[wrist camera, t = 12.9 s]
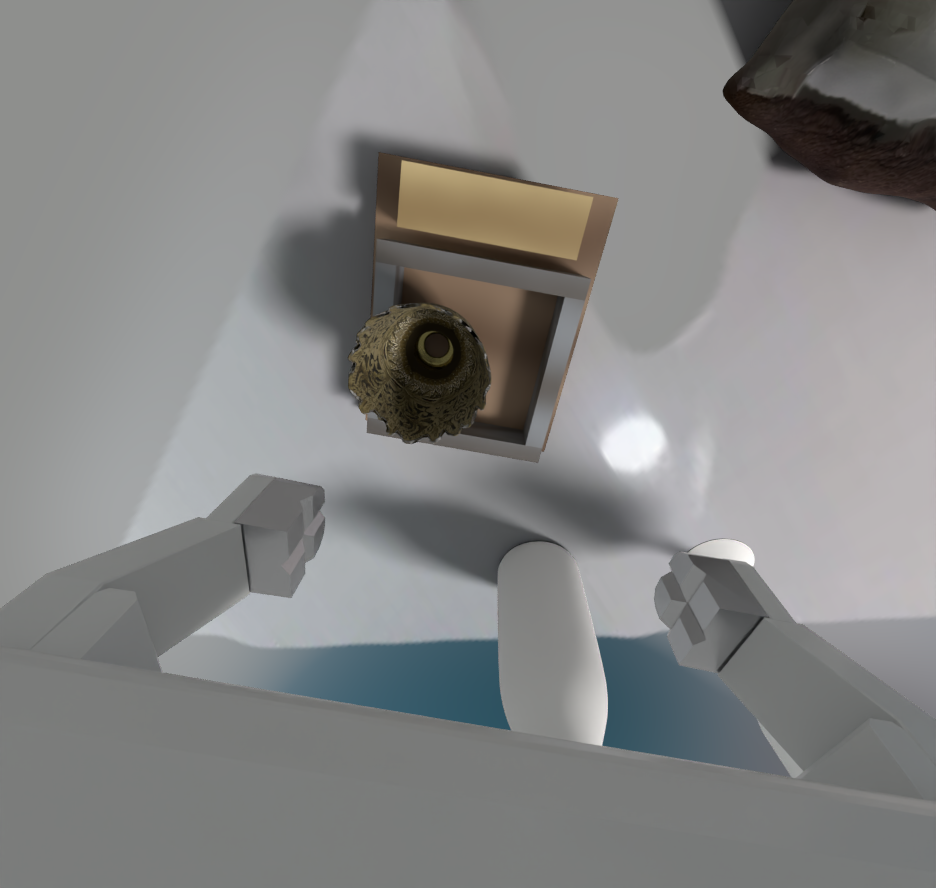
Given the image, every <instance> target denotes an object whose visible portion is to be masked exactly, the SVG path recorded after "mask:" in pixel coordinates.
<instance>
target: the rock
mask: <svg viewBox="0 0 936 888" xmlns="http://www.w3.org/2000/svg"><path fill="white" fill-rule="evenodd" d="M723 95H724V97H725V99H726V100H727V101H728V103H729V104H730V105H731V106H732V107H733V108H734V109H735V110H736V111H737V113H738V114H739V115H740V116H742V117H743V118H744V119H745V120H747V121H748V122H750V123H751V124H753V125H755V126H756V127H758V128H760V129H761V130H763V131H764V132H766V133H767V134H768V135H769V136H771V137H772V139H773V140H774V141H775V142H776V143H777V144H778V145H779V146H780V148H782V149H783V150H784V151H785V152H786V153H787V154H788V155H790V156H791V157H793V158H794V159H796V160H797V161H799V162H800V163H801V164H802V165H804V166H805V167H806V168H808V169H809V170H810V171H811V172H812V173H814V174H815V175H817V176H818V177H819V178H821V179H822V180H824V181H826V182H827V183H829V184H832V185H835V186H839V187H843V188H847V189H851V190H855V191H859V192H864V193H872V194H883V195H892V196H901V197H905V198H909V199H912V200H915V201H918V202H921V203H924V204H926V205H928V206H930V207H931V208H933V209H934V210H936V0H793V2H792V3H791V4H790V5H789V7H788V8H787V9H786V11H785V12H784V13H783V14H782V16H781V17H780V19H779V20H778V22H777V23H776V24H775V26H774V27H773V29H772V30H771V32H770V33H769V35H768V36H767V37H766V39H765V40H764V42H763V43H762V44H761V46H760V47H759V48H758V50H757V51H756V53H755V54H754V55H753V57H752V58H751V59H750V60H749V61H748V62H747V63H746V64H745V65H744V66H743V67H742V68H741V69H740V70H739V71H737V72H736V73H735V74H734V75H733V76H732V77H731V78H730V79H729V80H728V81H727V83H726V85H725V86H724V89H723Z"/></svg>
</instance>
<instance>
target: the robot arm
mask: <svg viewBox="0 0 936 888" xmlns="http://www.w3.org/2000/svg"><path fill="white" fill-rule="evenodd" d="M324 502H325V493H324V489H323V488H322V486H317V485H312V484H307V483H302V482H297V481H293V480H288V479H283V478H276V477H272V476H266V475H261V474H253V475H250V476H249V477H248V478H247V479H246V480H245V481H244V482H242V483H241V484H240V485H239V486H238V487H237V488H236V489H235V490H234V491H233V492H232V493H231V494H230V495H229V496H228V497H227V498H226V499H225V500H224V501H223V502H222V503H221V504H220V505H219V506H218V507H217V508H216V509H215V510H214V511H213V512H212V513H211V514H210V515H209V516H208V517H207V518H200V517H198V518H195V519H192V520H190V521H187V522H184V523H182V524H179V525H176V526H174V527H171V528H168V529H165V530H163V531H160V532H157V533H155V534H152V535H149V536H147V537H144V538H141V539H139V540H136V541H133V542H130V543H128V544H125V545H122V546H120V547H117V548H114V549H112V550H109V551H106V552H104V553H101V554H98V555H96V556H93V557H90V558H88V559H85V560H82V561H79V562H77V563H74V564H71V565H69V566H66V567H63V568H60V569H58V570H55V571H53V572H50V573H47V574H45V575H44V576H43V577H41V578H40V579H39V580H37V581H36V582H35V583H33V584H32V585H31V586H29V587H28V588H27V589H25V590H24V591H23V592H21V593H20V594H19V595H17V596H16V597H15V598H14V599H12V600H11V601H9V602H8V603H7V604H6V605H4V606H3V607H2V608H0V888H936V719H935V718H933V717H932V716H930V715H929V714H928V713H926V712H925V711H923V710H922V709H920V708H919V707H918V706H916V705H915V704H914V703H912V702H911V701H909V700H908V699H907V698H905V697H904V696H902V695H901V694H900V693H898V692H897V691H895V690H894V689H893V688H891V687H890V686H888V685H887V684H886V683H884V682H883V681H881V680H880V679H878V678H877V677H876V676H875V675H873V674H872V673H870V672H869V671H868V670H866V669H865V668H863V667H862V666H861V665H859V664H858V663H856V662H855V661H854V660H852V659H851V658H849V657H848V656H847V655H845V654H844V653H842V652H841V651H840V650H838V649H837V648H835V647H834V646H833V645H831V644H830V643H828V642H827V641H826V640H824V639H823V638H822V637H820V636H819V635H817V634H816V633H815V632H813V631H812V630H810V629H809V628H808V627H806V626H805V625H803V624H798V623H796V622H795V621H794V620H793V618H792V617H791V616H790V614H789V613H788V612H787V610H786V609H785V608H784V607H783V605H782V604H781V603H780V601H779V600H778V599H777V597H776V596H775V595H774V593H773V592H772V591H771V590H770V588H769V587H768V586H767V584H766V583H765V582H764V580H763V579H762V578H761V577H760V575H759V574H758V573H757V571H756V570H755V569H754V567H753V566H751V565H750V564H748V563H747V562H743V561H737V560H730V559H724V558H723V559H720V558H714V557H709V556H703V555H697V554H692V553H686V552H680V551H679V552H678V553H676V554H675V555H674V556H673V557H672V559H671V561H670V562H669V566H670V569H671V572H669V573H668V574H666V575H664V576H662V577H661V578H660V580H659V582H658V584H657V586H656V588H655V596H654V602H655V608H656V611H657V614H658V616H659V619H660V620H661V621H662V622H663V623H664V624H665V625H666V626H667V627H669V628H670V630H669V633H668V635H667V638H668V640H669V643H670V645H671V647H672V650H673V652H674V654H675V657H676V659H677V661H678V664H679V665H681V666H685V667H691V668H696V669H701V670H705V671H710V672H715V673H719V674H718V676H719V677H720V678H721V679H722V680H723V682H724V683H725V684H726V685H727V686H728V687H729V688H730V689H731V690H732V692H733V693H734V694H735V695H736V696H737V697H738V698H739V700H741V702H742V703H743V704H744V705H745V706H746V707H747V709H748V710H749V711H750V712H751V713H752V714H753V715H754V716H755V717H756V719H757V720H758V721H759V722H760V723H761V724H762V725H763V727H764V728H765V729H766V730H767V731H768V732H769V733H770V734H771V735H772V737H773V738H774V739H775V740H776V741H777V742H778V743H779V744H780V746H781V747H782V748H783V749H784V750H785V751H786V752H787V753H788V755H789V756H790V757H791V758H792V759H793V760H794V761H795V762H796V764H797V765H798V766H799V767H800V768H801V769H802V770H803V771H804V772H802V773H801V774H800V775H799V776H797V777H796V778H792V777H786V776H780V775H773V774H768V773H762V772H756V771H750V770H743V769H738V768H732V767H726V766H720V765H714V764H708V763H702V762H696V761H690V760H684V759H678V758H671V757H666V756H660V755H654V754H648V753H642V752H636V751H630V750H624V749H618V748H612V747H606V746H600V745H594V744H588V743H582V742H575V741H569V740H563V739H557V738H551V737H545V736H539V735H533V734H527V733H521V732H515V731H510V730H504V729H497V728H492V727H486V726H480V725H473V724H467V723H461V722H455V721H450V720H443V719H438V718H431V717H426V716H420V715H413V714H407V713H401V712H396V711H390V710H384V709H377V708H372V707H365V706H360V705H353V704H348V703H342V702H336V701H330V700H324V699H318V698H312V697H306V696H300V695H294V694H288V693H282V692H276V691H270V690H264V689H257V688H252V687H246V686H240V685H234V684H228V683H222V682H216V681H210V680H204V679H198V678H192V677H185V676H180V675H174V674H168V673H163V671H162V668H161V666H160V663H159V660H158V657H159V656H160V655H162V654H163V653H165V652H166V651H168V650H169V649H170V648H172V647H173V646H175V645H176V644H178V643H179V642H181V641H182V640H184V639H185V638H187V637H188V636H190V635H191V634H192V633H194V632H195V631H197V630H198V629H200V628H201V627H203V626H204V625H206V624H207V623H209V622H210V621H212V620H213V619H214V618H216V617H217V616H219V615H220V614H222V613H223V612H225V611H226V610H228V609H229V608H231V607H232V606H234V605H235V604H236V603H238V602H239V601H241V600H242V599H244V598H245V597H247V596H248V595H250V592H253V593H260V594H267V595H274V596H281V597H288V598H292V596H293V594H294V592H295V591H296V589H297V587H298V585H299V583H300V582H301V580H302V578H303V576H304V575H305V563H306V562H308V561H309V560H311V559H313V558H314V557H315V555H316V553H317V551H318V549H319V547H320V544H321V541H322V538H323V534H324V528H325V517H324V515H323V514H322V513H321V511H320V509H321V507H322V506H323V504H324Z"/></svg>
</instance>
